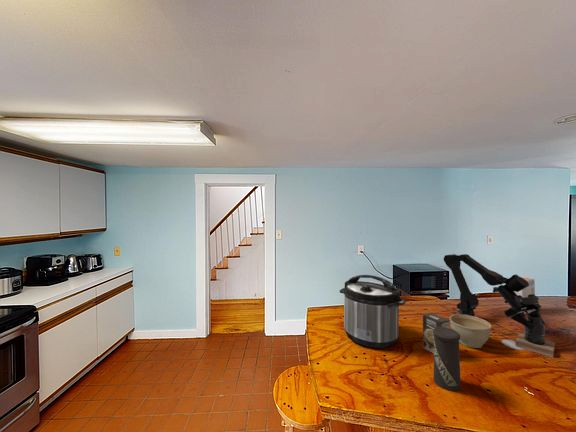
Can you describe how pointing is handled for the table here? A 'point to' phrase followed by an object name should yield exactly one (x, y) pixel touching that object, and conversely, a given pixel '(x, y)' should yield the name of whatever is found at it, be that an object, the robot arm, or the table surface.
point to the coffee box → (428, 325)
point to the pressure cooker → (371, 311)
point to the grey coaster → (511, 344)
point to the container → (446, 358)
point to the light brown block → (536, 346)
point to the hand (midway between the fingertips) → (538, 327)
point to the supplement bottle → (535, 330)
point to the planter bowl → (471, 330)
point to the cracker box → (527, 289)
